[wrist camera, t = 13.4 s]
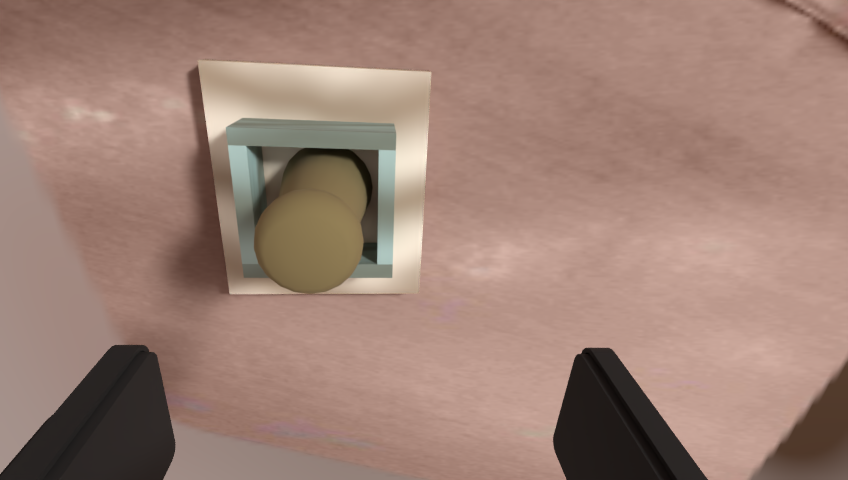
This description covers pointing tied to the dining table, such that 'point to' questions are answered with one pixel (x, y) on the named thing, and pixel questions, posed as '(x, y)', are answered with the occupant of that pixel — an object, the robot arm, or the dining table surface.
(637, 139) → the dining table surface
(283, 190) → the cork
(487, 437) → the dining table surface
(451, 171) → the dining table surface
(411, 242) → the shaker caddy
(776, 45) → the dining table surface
